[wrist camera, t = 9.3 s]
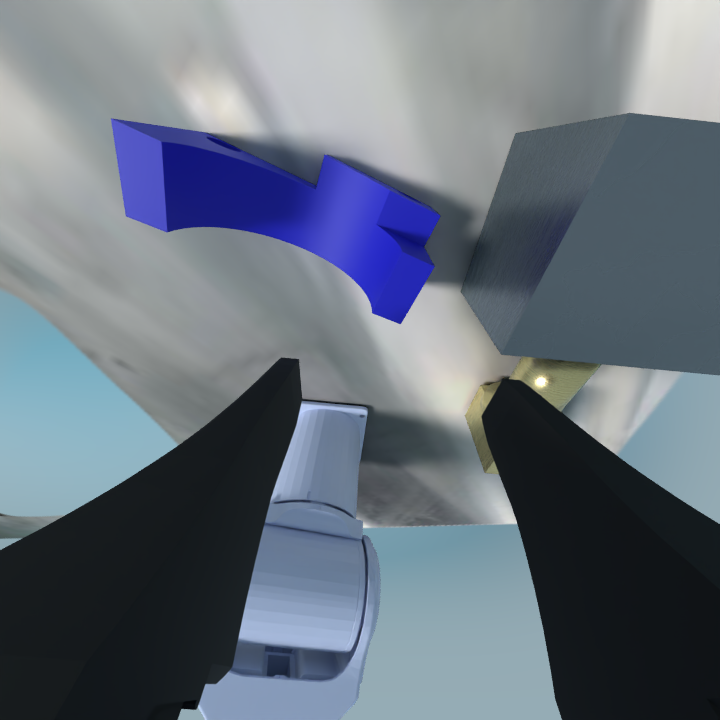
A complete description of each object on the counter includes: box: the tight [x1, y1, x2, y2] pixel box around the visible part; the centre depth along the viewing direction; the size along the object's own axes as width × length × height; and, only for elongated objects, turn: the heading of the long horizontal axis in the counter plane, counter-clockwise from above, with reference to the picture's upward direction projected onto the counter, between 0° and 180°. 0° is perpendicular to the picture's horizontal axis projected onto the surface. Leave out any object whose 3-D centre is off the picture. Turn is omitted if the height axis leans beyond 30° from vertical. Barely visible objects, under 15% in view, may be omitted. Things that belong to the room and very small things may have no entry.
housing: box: [461, 113, 720, 375], centre depth 12 cm, size 9×12×7 cm
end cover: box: [465, 357, 601, 474], centre depth 19 cm, size 10×6×6 cm, turn 175°
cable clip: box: [111, 119, 440, 324], centre depth 12 cm, size 12×4×6 cm, turn 68°
